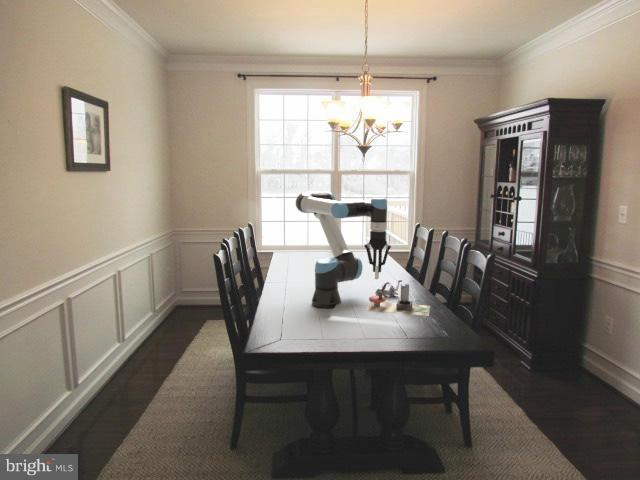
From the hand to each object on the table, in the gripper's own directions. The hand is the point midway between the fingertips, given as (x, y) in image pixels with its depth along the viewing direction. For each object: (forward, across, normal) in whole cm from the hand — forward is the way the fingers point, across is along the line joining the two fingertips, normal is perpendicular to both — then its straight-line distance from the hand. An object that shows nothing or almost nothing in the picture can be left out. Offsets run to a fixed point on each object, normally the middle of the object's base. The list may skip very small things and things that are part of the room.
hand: (376, 278), depth 220 cm
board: (+16, +10, +3) cm, 20 cm away
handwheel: (+15, 0, +3) cm, 15 cm away
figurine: (+17, +3, +23) cm, 28 cm away
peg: (+15, +14, +3) cm, 20 cm away
